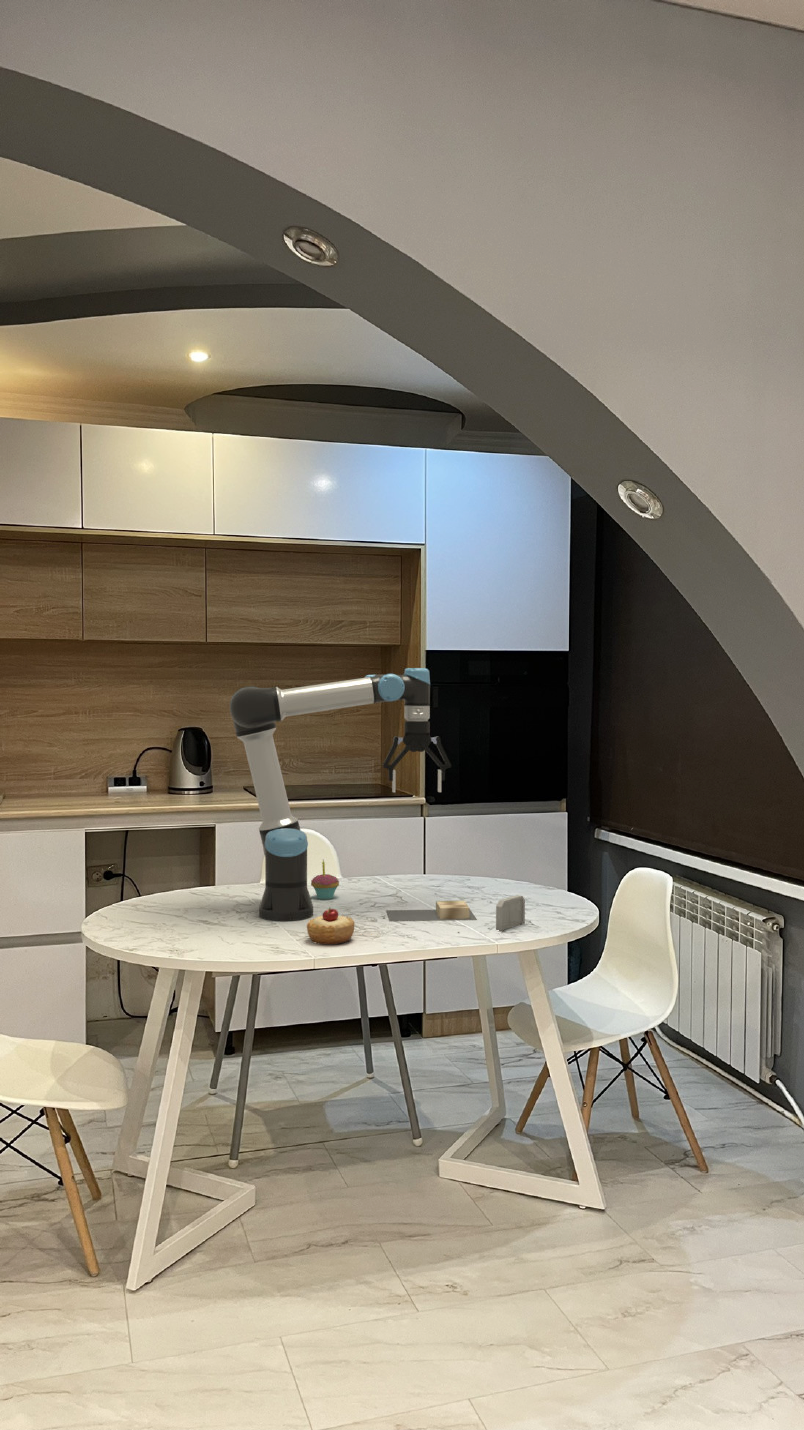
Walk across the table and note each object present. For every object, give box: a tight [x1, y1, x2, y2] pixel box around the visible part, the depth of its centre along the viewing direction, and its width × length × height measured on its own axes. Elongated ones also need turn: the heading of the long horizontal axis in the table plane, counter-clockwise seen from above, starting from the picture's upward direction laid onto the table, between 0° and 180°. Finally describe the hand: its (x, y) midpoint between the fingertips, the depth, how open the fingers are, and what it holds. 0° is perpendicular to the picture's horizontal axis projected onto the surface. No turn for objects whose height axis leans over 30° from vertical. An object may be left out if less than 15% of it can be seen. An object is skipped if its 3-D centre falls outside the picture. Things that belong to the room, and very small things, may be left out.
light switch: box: [495, 894, 526, 932], centre depth 281 cm, size 2×12×8 cm, turn 143°
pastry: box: [306, 906, 355, 945], centre depth 265 cm, size 12×12×9 cm
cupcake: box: [310, 859, 340, 900], centre depth 318 cm, size 9×8×12 cm
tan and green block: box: [435, 899, 470, 919], centre depth 292 cm, size 8×3×10 cm
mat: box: [385, 908, 478, 922], centre depth 292 cm, size 24×14×1 cm, turn 95°
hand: (416, 792), depth 312 cm, fingers open, 13 cm apart
